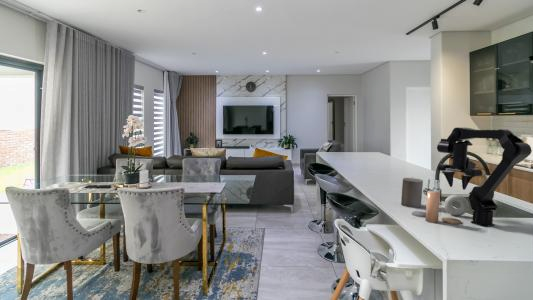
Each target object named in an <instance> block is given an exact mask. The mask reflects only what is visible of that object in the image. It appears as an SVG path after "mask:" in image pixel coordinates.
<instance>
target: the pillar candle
mask: <svg viewBox="0 0 533 300" xmlns="http://www.w3.org/2000/svg"><path fill="white" fill-rule="evenodd" d="M423 184H424V180H423V179H421V178H415V177H413V176H412V177H403V178H402V184H401V185H402V187H401V201H400V202H401V203H400V204H401V206H403V207H407V208H413V209H414V208H416V209H417V208H421V207H422V201H423V200H422V197H423V186H424V185H423Z"/></svg>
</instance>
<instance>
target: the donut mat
mask: <svg viewBox="0 0 533 300" xmlns="http://www.w3.org/2000/svg"><path fill="white" fill-rule="evenodd" d="M440 219H441V222H444V223H445V224H450V225H451V224H452V225H460V224H462V221H461V220H460V219H458V218H454V217H441V218H440Z"/></svg>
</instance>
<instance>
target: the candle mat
mask: <svg viewBox="0 0 533 300" xmlns="http://www.w3.org/2000/svg"><path fill="white" fill-rule="evenodd" d="M411 215H412V216H415V217H419V218H426V211H419V210H417V211H412V212H411Z"/></svg>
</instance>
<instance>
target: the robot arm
mask: <svg viewBox="0 0 533 300" xmlns="http://www.w3.org/2000/svg"><path fill="white" fill-rule="evenodd" d="M474 139H492V140H493V139H496V140H498V143H499V145H500V147H501V148H502V149H503V152H502V155H501V160H500V162H499V163H498V164H497V166H495V168H494V170H493V171H492V172H491V174H490V175H489V176H488V177H487V179H486V180H485V182H484V183H483V184H482V185H478V186H473V187H472V190H471V191H469V192H468V194H469V195H468V202H469V204H470V208H471V210H473V211H472V220H470V223H472V224H475V225H478V226H481V227H492V226H493V227H494V226H495V223H493V222H494V221H493V219H494V211H496V210H497V209H498V205H497V203H495V201H494V197H495V191H496V190H497V189H498V187H499V186H500V185H501V183H502V182H503V181H504V180H505V178H506V177H507V176H508V175H509V173H510V172H511V171H512V170H513V168H514V167H515V166H517V164H519V163H521V162H523V161H524V160H525V159H527V158H528V157H529V156H530V155H532V154H531V153H532V147H531V145H530V144H528V143H527V142H525V141H524V140H523V139H522V138H520V137H518V136H517V135H515V134H514V133H513V132H512V131H511V130H510V129H505V128H502V129H474V128H471V127H454V128H453V129H452V131H451V132H450V134H449V135H448V136H447V138H440V141H439V142H438V143H437V146H436V149H437V152H439V153H443V154H449V155H450V154H452V156H450V160H451V164H449V163H443V164H442V163H440V164H438V165H437V169H436V170H437V171H440V172H441V173H443V175H444V177H445V179H446V181H447V183H448V186H449V187H450V188H453V184H454V175H455V174H456V172H458V173H463V174H461V187H462V190H463V191H464V190H466V189H467V187H468V185H469V183H470V182H471V180H472V179H473V178H474V177H475V178H476V177H481V176H483V171H482V169H480V168H476V166H477V163H475V162H473V161H471V160H470V157H469V156H468V147H469V146H470V147H471V146H473V143H472V142H471V140H474Z"/></svg>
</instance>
